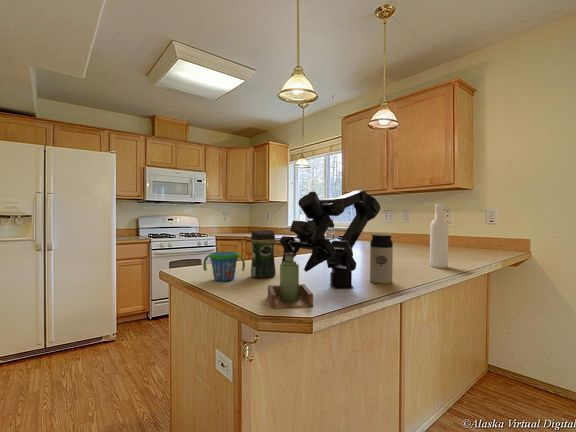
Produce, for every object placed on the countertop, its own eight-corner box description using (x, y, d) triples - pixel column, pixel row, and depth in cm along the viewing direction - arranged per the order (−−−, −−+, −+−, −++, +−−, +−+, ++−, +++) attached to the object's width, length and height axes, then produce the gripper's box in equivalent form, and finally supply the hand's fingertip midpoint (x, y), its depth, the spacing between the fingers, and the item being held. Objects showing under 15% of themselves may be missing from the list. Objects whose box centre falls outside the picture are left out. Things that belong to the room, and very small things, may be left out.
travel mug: (373, 278, 122) (373, 232, 122) (394, 281, 118) (394, 233, 118) (367, 282, 115) (367, 233, 115) (389, 285, 111) (389, 234, 111)
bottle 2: (425, 265, 152) (426, 204, 151) (437, 264, 155) (438, 204, 155) (440, 268, 144) (441, 203, 144) (451, 267, 148) (452, 204, 147)
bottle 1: (292, 296, 94) (292, 251, 94) (302, 300, 89) (302, 253, 89) (276, 298, 91) (276, 252, 91) (285, 303, 87) (285, 254, 87)
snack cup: (198, 281, 115) (198, 254, 115) (210, 276, 125) (210, 250, 125) (239, 283, 112) (239, 255, 112) (248, 277, 123) (248, 251, 123)
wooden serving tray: (304, 295, 97) (304, 284, 97) (313, 307, 85) (313, 293, 85) (267, 297, 95) (267, 285, 95) (271, 308, 84) (271, 295, 84)
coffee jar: (270, 273, 131) (270, 229, 130) (277, 277, 123) (278, 230, 123) (248, 275, 127) (248, 229, 126) (254, 279, 119) (254, 230, 119)
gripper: (283, 211, 101) (257, 248, 94) (330, 211, 88) (304, 254, 81) (299, 233, 107) (276, 270, 99) (345, 237, 94) (323, 279, 86)
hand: (293, 268), depth 91 cm, fingers open, 9 cm apart
